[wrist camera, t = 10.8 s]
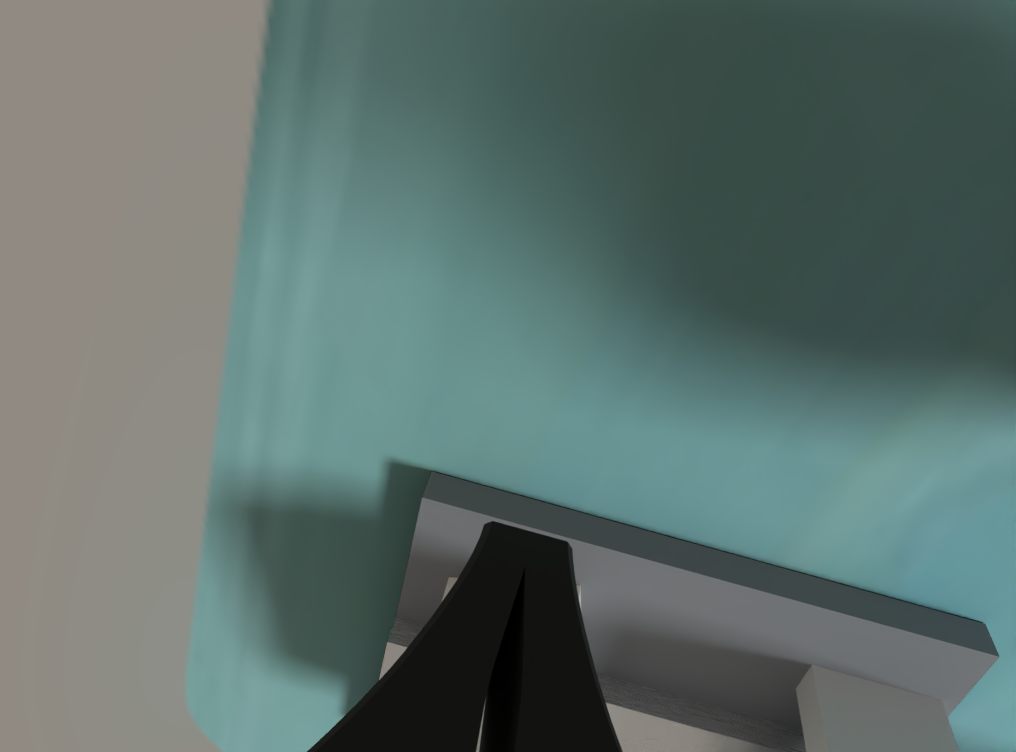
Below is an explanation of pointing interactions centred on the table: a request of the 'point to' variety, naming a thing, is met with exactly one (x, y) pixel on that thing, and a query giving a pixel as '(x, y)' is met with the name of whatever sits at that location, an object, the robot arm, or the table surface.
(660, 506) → the table surface
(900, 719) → the rail board
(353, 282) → the table surface
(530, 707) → the robot arm
